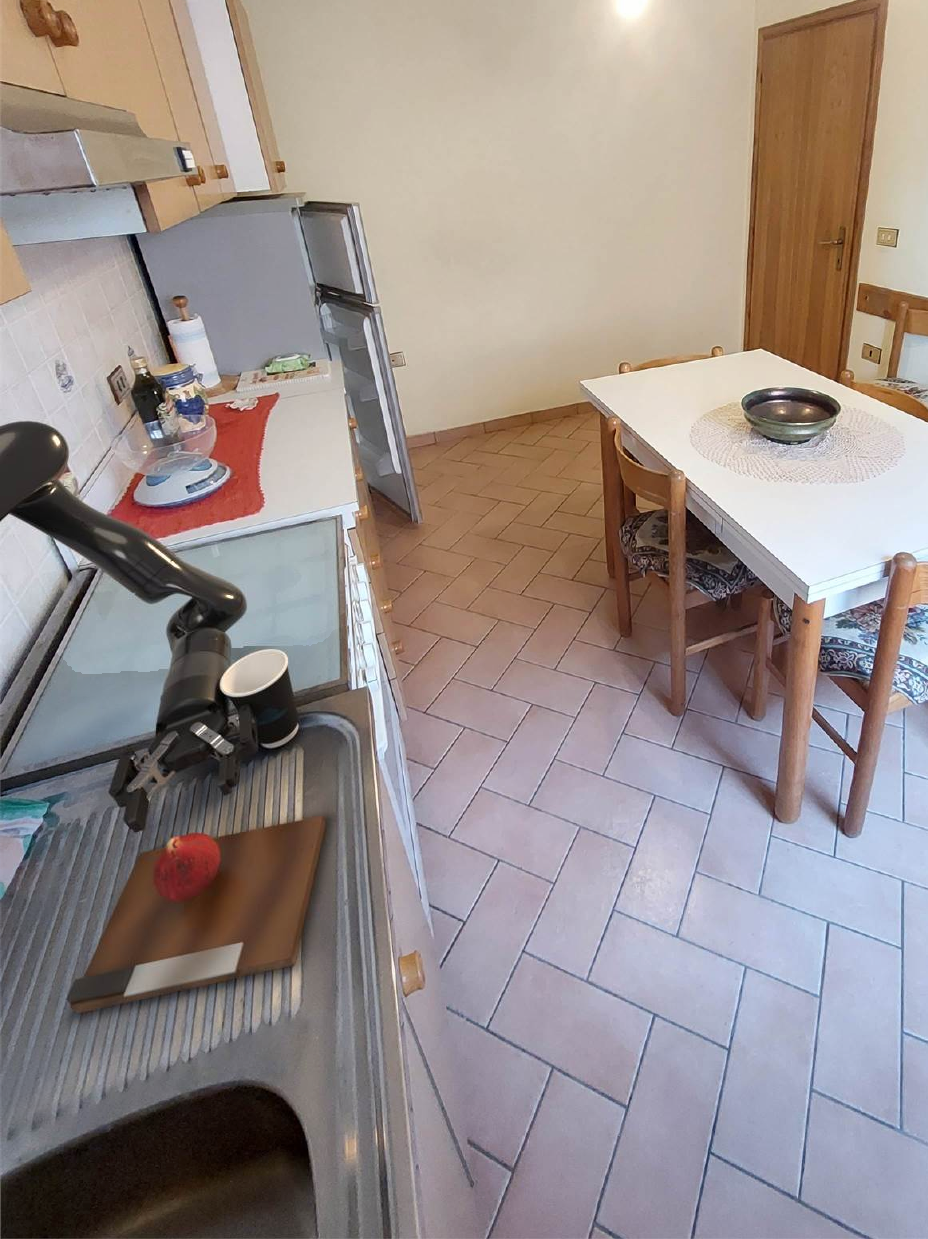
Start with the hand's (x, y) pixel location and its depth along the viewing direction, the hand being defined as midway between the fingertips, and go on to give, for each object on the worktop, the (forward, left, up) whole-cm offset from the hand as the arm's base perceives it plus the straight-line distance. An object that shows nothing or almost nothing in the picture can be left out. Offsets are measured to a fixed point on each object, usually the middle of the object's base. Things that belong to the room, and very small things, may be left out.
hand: (180, 808), depth 68 cm
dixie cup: (+3, +15, -9) cm, 18 cm away
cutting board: (+2, -6, -9) cm, 11 cm away
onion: (+1, -4, -8) cm, 9 cm away
